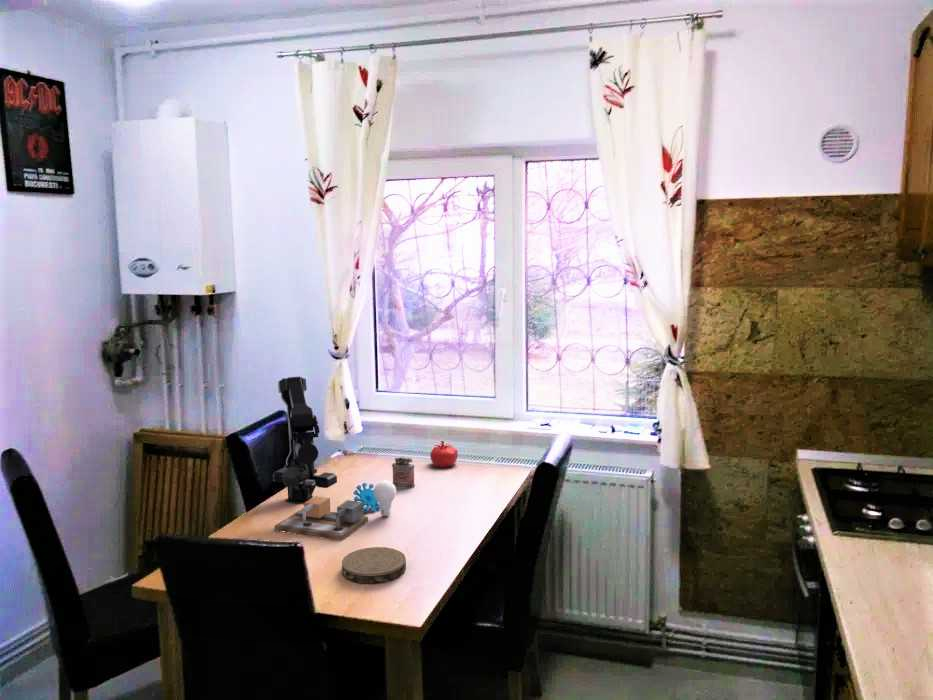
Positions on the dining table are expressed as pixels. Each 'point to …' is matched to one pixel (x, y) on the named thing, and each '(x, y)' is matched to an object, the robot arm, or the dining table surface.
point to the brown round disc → (373, 565)
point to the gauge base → (327, 522)
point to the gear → (367, 497)
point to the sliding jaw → (316, 507)
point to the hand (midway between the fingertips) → (306, 505)
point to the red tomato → (443, 455)
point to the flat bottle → (403, 473)
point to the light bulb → (385, 496)
